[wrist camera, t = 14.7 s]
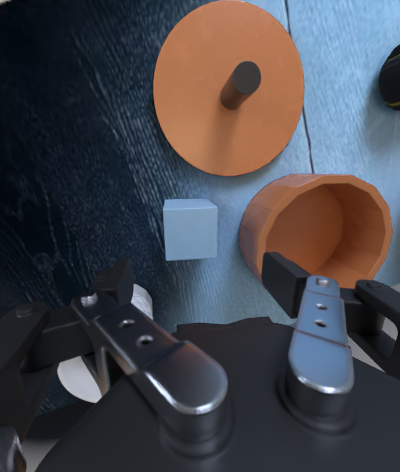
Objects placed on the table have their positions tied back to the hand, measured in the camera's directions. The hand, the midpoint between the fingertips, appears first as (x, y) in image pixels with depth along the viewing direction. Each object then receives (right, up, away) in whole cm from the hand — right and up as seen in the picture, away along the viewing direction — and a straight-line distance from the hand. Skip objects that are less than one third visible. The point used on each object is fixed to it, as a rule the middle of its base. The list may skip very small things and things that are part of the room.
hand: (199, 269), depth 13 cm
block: (-2, +4, +14) cm, 14 cm away
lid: (+3, +16, +10) cm, 19 cm away
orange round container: (+12, +3, +16) cm, 20 cm away
